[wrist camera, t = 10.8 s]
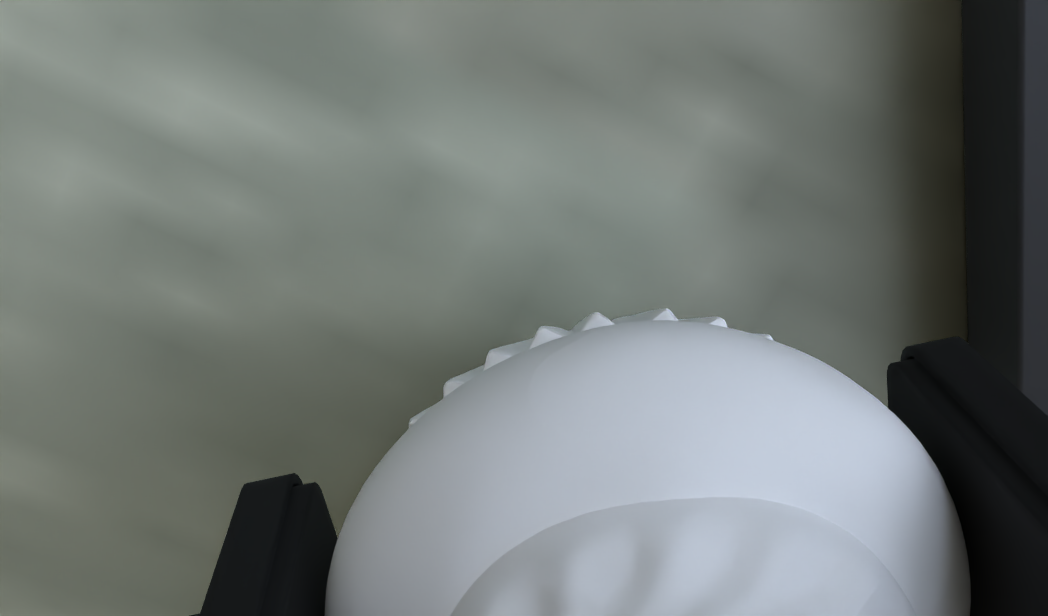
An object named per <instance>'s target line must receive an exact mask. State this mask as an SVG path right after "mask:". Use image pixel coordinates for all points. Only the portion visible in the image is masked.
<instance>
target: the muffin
mask: <svg viewBox="0 0 1048 616" xmlns="http://www.w3.org/2000/svg"><path fill="white" fill-rule="evenodd" d="M443 395H444V398H443V399H442V400H440V401H439V402H438V403H436V404H434V405H432V406H431V407H429V408H427V409H425V410H424V411H422V412H420V413H419V414H417V415H415V416H414V417H412V418H411V419H410V421H409V424H408V425H409V429H408V430H407V431H406V432H405V433H404V434H403V435H402V436H401V437H400V439H399V440H398V441H397V442H396V443H395V444H394V445H393V446H392V447H391V448H390V450H389V451H388V452H387V453H386V455H385V456H384V457H383V458H382V460H381V461H380V462H379V463H378V465H377V466H376V467H375V469H374V470H373V472H372V473H371V475H370V476H369V477H368V479H367V480H366V482H365V483H364V485H363V486H362V488H361V490H360V492H359V494H358V495H357V497H356V499H355V501H354V503H353V504H352V506H351V508H350V510H349V512H348V514H347V516H346V519H345V521H344V524H343V526H342V529H341V531H340V534H339V536H338V539H337V542H336V545H335V549H334V552H333V556H332V561H331V565H330V570H329V574H328V580H327V587H326V598H325V616H970V606H971V585H970V571H969V561H968V555H967V550H966V544H965V539H964V535H963V531H962V527H961V523H960V520H959V517H958V514H957V510H956V507H955V504H954V502H953V500H952V497H951V495H950V493H949V491H948V489H947V486H946V484H945V482H944V479H943V477H942V475H941V474H940V472H939V470H938V468H937V466H936V465H935V463H934V462H933V460H932V459H931V457H930V456H929V454H928V453H927V451H926V450H925V448H924V447H923V446H922V444H921V443H920V441H919V440H918V439H917V438H916V437H915V435H914V434H913V433H912V432H911V431H910V429H909V428H908V427H907V426H906V425H905V424H904V423H903V422H902V421H901V420H900V419H899V418H898V417H897V416H896V415H895V414H894V413H893V412H892V411H890V410H889V409H888V408H887V407H886V406H885V405H884V404H883V403H882V402H881V401H879V400H878V399H877V398H876V397H874V396H873V395H872V394H870V393H869V392H868V391H866V390H865V389H864V388H862V387H861V386H860V385H858V384H857V383H855V382H854V381H853V380H851V379H850V378H849V377H847V376H846V375H844V374H842V373H841V372H839V371H838V370H836V369H835V368H833V367H831V366H829V365H828V364H826V363H824V362H822V361H820V360H818V359H816V358H814V357H812V356H810V355H808V354H806V353H804V352H801V351H799V350H797V349H794V348H792V347H790V346H787V345H784V344H781V343H778V342H775V341H774V340H773V338H772V337H771V336H770V335H769V334H756V333H748V332H744V331H741V330H736V329H732V328H728V327H727V324H726V322H725V320H724V319H722V318H720V317H718V316H711V317H702V318H685V319H677V318H676V317H675V315H674V314H673V313H672V312H671V310H669V309H667V308H662V309H657V310H652V311H647V312H642V313H638V314H635V315H631V316H624V317H619V318H616V319H613V320H609V319H608V318H607V317H605V316H604V315H602V314H600V313H599V312H595V313H593V314H591V315H588V316H587V317H586V318H584V319H582V320H580V321H579V322H578V323H577V324H576V325H575V326H574V327H573V329H571V330H568V331H567V330H565V329H562V328H559V327H552V326H541V327H540V328H538V329H537V331H536V334H535V336H534V338H531V339H527V340H524V341H521V342H517V343H513V344H509V345H504V346H501V347H498V348H495V349H491V350H490V351H489V353H488V354H487V358H486V362H485V364H484V365H482V366H480V367H477V368H475V369H473V370H470V371H468V372H465V373H463V374H461V375H458V376H456V377H454V378H451V379H449V380H448V381H447V382H446V383H445V384H444V386H443Z"/></svg>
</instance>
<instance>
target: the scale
mask: <svg viewBox="0 0 1048 616" xmlns="http://www.w3.org/2000/svg"><path fill="white" fill-rule="evenodd" d="M962 43H963V93H964V144H965V195H966V246H967V297H968V344H969V345H970V346H971V347H972V348H974V349H975V350H976V351H977V352H978V353H979V354H980V355H981V356H982V357H983V358H985V359H986V360H987V361H988V362H989V363H990V364H991V365H992V366H993V367H994V368H996V369H997V370H998V371H999V372H1000V373H1001V374H1002V375H1003V376H1004V377H1005V378H1007V379H1008V380H1009V381H1010V382H1011V383H1012V384H1013V385H1014V386H1015V387H1016V388H1018V389H1019V390H1020V391H1021V392H1022V393H1023V394H1024V395H1025V396H1026V397H1027V398H1029V399H1030V400H1031V401H1032V402H1033V403H1034V404H1035V405H1036V406H1037V407H1038V408H1040V409H1041V410H1042V411H1043V412H1044V413H1045V414H1046V415H1047V416H1048V0H962Z"/></svg>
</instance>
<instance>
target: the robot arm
mask: <svg viewBox="0 0 1048 616" xmlns="http://www.w3.org/2000/svg"><path fill="white" fill-rule="evenodd" d="M887 390H888V409H889V410H890V411H892V412H893V413H894V414H895V415H896V416H897V417H898V418H899V419H900V420H901V421H902V422H903V423H904V424H905V425H906V426H907V427H908V428H909V429H910V431H911V432H912V433H913V434H914V435H915V437H916V438H917V439H918V440H919V441H920V443H921V444H922V446H923V447H924V448H925V450H926V451H927V453H928V454H929V456H930V457H931V459H932V460H933V462H934V463H935V465H936V466H937V468H938V470H939V472H940V474H941V475H942V477H943V479H944V482H945V484H946V486H947V489H948V491H949V493H950V495H951V497H952V500H953V502H954V504H955V507H956V510H957V514H958V517H959V520H960V523H961V527H962V531H963V535H964V539H965V544H966V550H967V555H968V561H969V571H970V585H971V606H970V616H1048V416H1047V415H1046V414H1045V413H1044V412H1043V411H1042V410H1041V409H1040V408H1038V407H1037V406H1036V405H1035V404H1034V403H1033V402H1032V401H1031V400H1030V399H1029V398H1027V397H1026V396H1025V395H1024V394H1023V393H1022V392H1021V391H1020V390H1019V389H1018V388H1016V387H1015V386H1014V385H1013V384H1012V383H1011V382H1010V381H1009V380H1008V379H1007V378H1005V377H1004V376H1003V375H1002V374H1001V373H1000V372H999V371H998V370H997V369H996V368H994V367H993V366H992V365H991V364H990V363H989V362H988V361H987V360H986V359H985V358H983V357H982V356H981V355H980V354H979V353H978V352H977V351H976V350H975V349H974V348H972V347H971V346H970V345H969V344H968V343H967V342H966V341H965V340H963V339H962V338H960V337H951V338H946V339H941V340H937V341H932V342H927V343H922V344H917V345H912V346H907V347H905V349H904V350H903V352H902V355H901V361H899V362H895V363H891V364H890V365H889V366H888V370H887ZM337 539H338V538H337V535H336V532H335V529H334V526H333V523H332V520H331V517H330V514H329V511H328V508H327V505H326V502H325V499H324V496H323V494H322V491H321V489H320V487H319V485H318V484H317V483H316V482H314V483H309V484H304V485H303V483H302V481H301V479H300V478H299V476H298V475H297V474H295V473H293V474H288V475H283V476H279V477H274V478H269V479H264V480H259V481H254V482H250V483H246V484H244V486H243V487H242V489H241V492H240V495H239V498H238V501H237V504H236V507H235V510H234V513H233V516H232V519H231V522H230V525H229V528H228V531H227V534H226V537H225V540H224V543H223V546H222V549H221V552H220V555H219V558H218V561H217V564H216V567H215V570H214V573H213V576H212V579H211V582H210V585H209V588H208V591H207V594H206V597H205V600H204V603H203V606H202V609H201V612H200V614H195V615H190V616H325V598H326V587H327V580H328V574H329V570H330V565H331V561H332V556H333V552H334V549H335V545H336V542H337Z"/></svg>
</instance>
